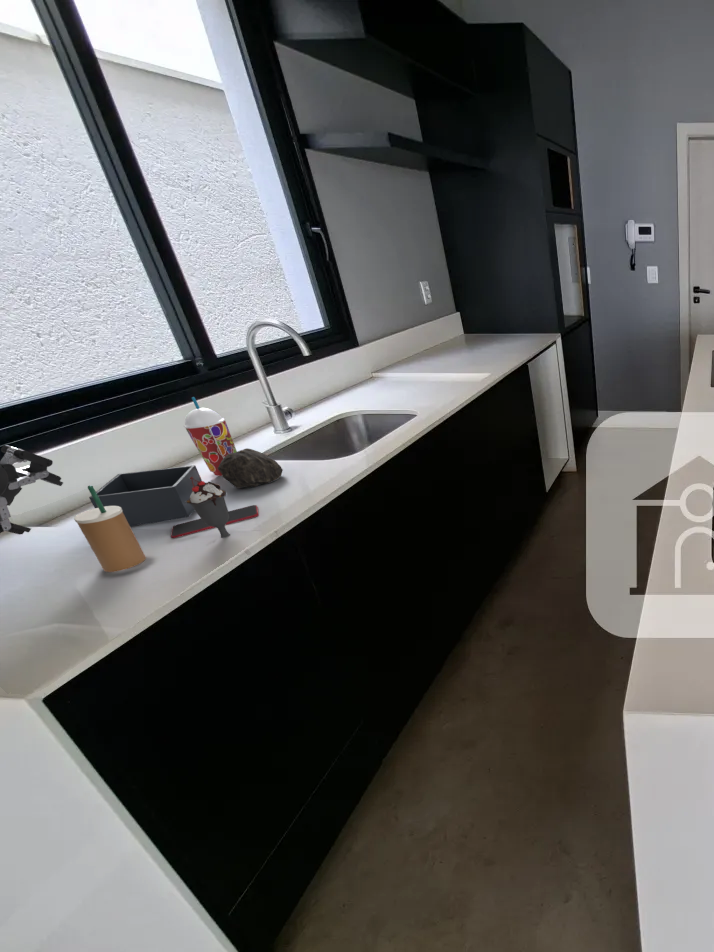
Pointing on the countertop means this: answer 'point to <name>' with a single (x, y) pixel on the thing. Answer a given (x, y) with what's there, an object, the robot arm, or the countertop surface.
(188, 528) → the smartphone
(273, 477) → the rock
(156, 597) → the countertop surface
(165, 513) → the bin
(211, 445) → the smoothie
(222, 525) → the sundae
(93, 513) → the takeaway cup
